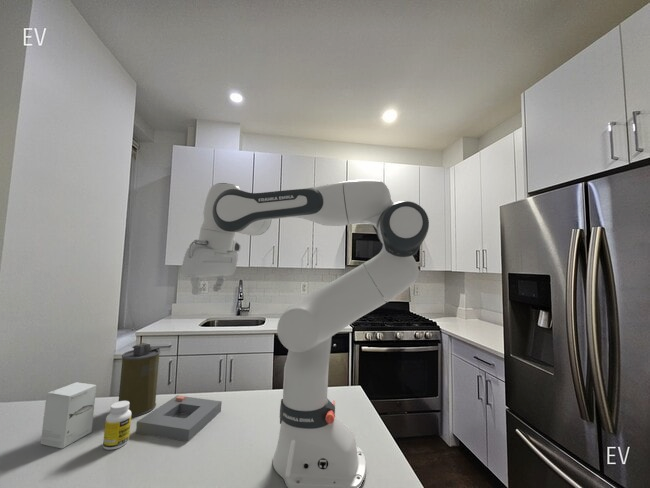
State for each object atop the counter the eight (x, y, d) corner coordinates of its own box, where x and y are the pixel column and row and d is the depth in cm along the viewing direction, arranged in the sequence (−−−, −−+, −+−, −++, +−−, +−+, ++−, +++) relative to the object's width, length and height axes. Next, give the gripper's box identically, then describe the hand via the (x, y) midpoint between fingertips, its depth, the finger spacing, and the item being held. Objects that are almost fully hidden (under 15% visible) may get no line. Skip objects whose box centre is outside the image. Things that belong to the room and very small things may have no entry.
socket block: (220, 411, 90) (221, 398, 90) (188, 441, 74) (189, 426, 74) (176, 404, 92) (177, 392, 93) (135, 433, 77) (137, 418, 77)
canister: (132, 420, 82) (138, 351, 84) (108, 413, 86) (114, 346, 87) (164, 404, 93) (169, 342, 94) (141, 398, 96) (146, 338, 98)
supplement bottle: (118, 451, 69) (122, 409, 70) (97, 450, 69) (101, 408, 70) (134, 437, 75) (137, 399, 75) (113, 436, 75) (117, 398, 75)
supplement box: (62, 449, 69) (68, 396, 70) (39, 444, 71) (45, 392, 72) (92, 432, 76) (97, 384, 77) (71, 428, 78) (76, 381, 79)
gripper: (203, 240, 66) (193, 299, 65) (243, 246, 86) (236, 291, 85) (179, 236, 67) (169, 294, 66) (225, 243, 87) (217, 287, 86)
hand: (207, 292), depth 76 cm, fingers open, 8 cm apart
